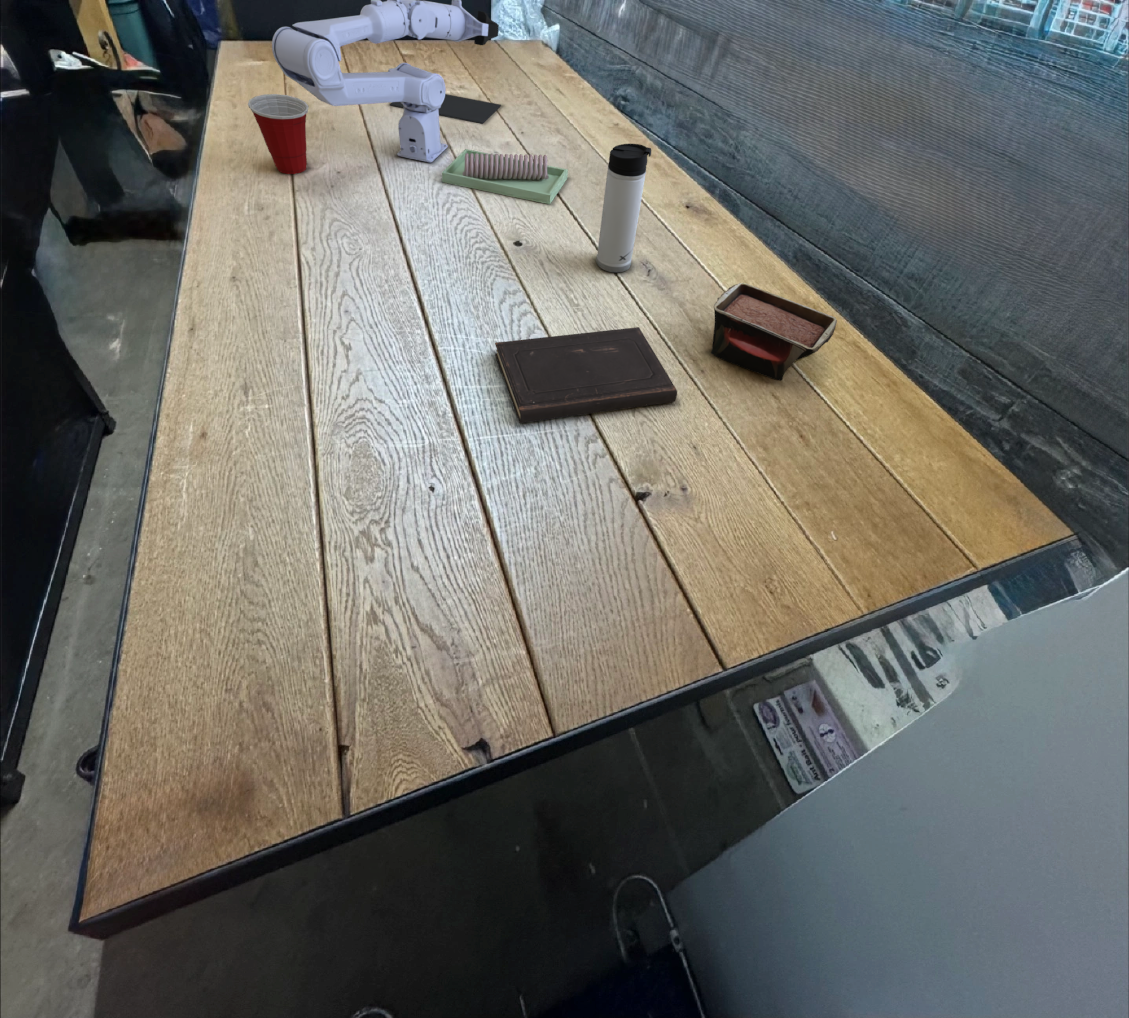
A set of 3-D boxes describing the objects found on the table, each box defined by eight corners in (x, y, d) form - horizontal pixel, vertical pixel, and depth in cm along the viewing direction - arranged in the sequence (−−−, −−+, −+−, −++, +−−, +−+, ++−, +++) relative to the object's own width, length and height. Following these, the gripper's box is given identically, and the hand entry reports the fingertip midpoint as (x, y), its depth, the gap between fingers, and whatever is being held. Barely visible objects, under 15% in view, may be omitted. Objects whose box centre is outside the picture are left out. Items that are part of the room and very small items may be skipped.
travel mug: (629, 276, 116) (649, 157, 101) (593, 269, 117) (607, 150, 101) (634, 258, 120) (653, 142, 105) (599, 252, 121) (613, 136, 105)
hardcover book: (495, 355, 98) (495, 342, 97) (636, 339, 104) (639, 326, 102) (520, 425, 89) (520, 413, 87) (674, 404, 94) (678, 391, 92)
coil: (548, 151, 136) (461, 149, 134) (551, 158, 133) (462, 157, 130) (547, 175, 140) (462, 174, 137) (550, 182, 136) (463, 181, 134)
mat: (482, 123, 156) (482, 122, 156) (389, 105, 159) (389, 104, 158) (500, 105, 164) (500, 104, 164) (412, 88, 167) (411, 87, 167)
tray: (549, 204, 132) (550, 195, 130) (442, 182, 134) (441, 172, 133) (567, 178, 140) (568, 169, 138) (465, 157, 143) (465, 148, 141)
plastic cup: (312, 182, 130) (298, 115, 121) (257, 177, 129) (239, 110, 120) (326, 159, 137) (314, 95, 128) (274, 154, 136) (258, 89, 127)
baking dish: (738, 323, 113) (744, 269, 105) (838, 355, 104) (853, 298, 97) (693, 365, 106) (697, 310, 98) (797, 403, 97) (809, 345, 90)
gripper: (469, 1, 125) (511, 9, 135) (413, -10, 131) (458, -2, 140) (467, 46, 130) (508, 50, 139) (413, 33, 135) (456, 38, 145)
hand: (483, 26), depth 140 cm, fingers open, 7 cm apart
